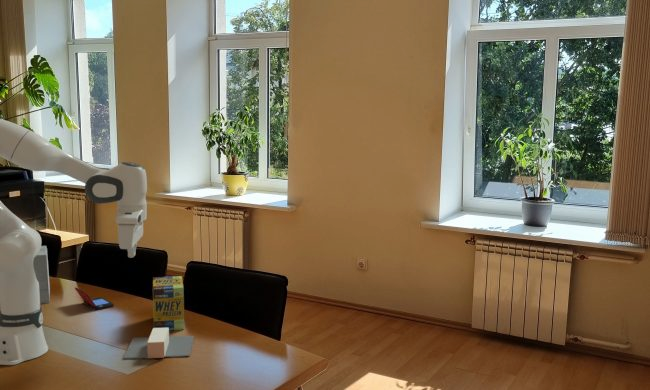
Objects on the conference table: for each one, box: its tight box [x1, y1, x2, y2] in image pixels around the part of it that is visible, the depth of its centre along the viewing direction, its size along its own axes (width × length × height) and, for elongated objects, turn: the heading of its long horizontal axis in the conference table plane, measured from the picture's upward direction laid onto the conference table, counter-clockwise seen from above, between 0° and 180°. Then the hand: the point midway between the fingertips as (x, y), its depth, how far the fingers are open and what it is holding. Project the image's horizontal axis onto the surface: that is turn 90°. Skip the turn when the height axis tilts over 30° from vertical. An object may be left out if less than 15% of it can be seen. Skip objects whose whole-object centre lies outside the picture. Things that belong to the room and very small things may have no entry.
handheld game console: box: [74, 286, 115, 311], centre depth 232 cm, size 12×11×7 cm
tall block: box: [147, 327, 170, 359], centre depth 190 cm, size 5×5×12 cm
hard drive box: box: [33, 245, 51, 305], centre depth 238 cm, size 16×8×20 cm, turn 25°
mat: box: [123, 335, 195, 360], centre depth 193 cm, size 20×16×1 cm
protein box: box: [152, 275, 185, 332], centre depth 213 cm, size 10×15×16 cm
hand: (131, 256), depth 190 cm, fingers closed
